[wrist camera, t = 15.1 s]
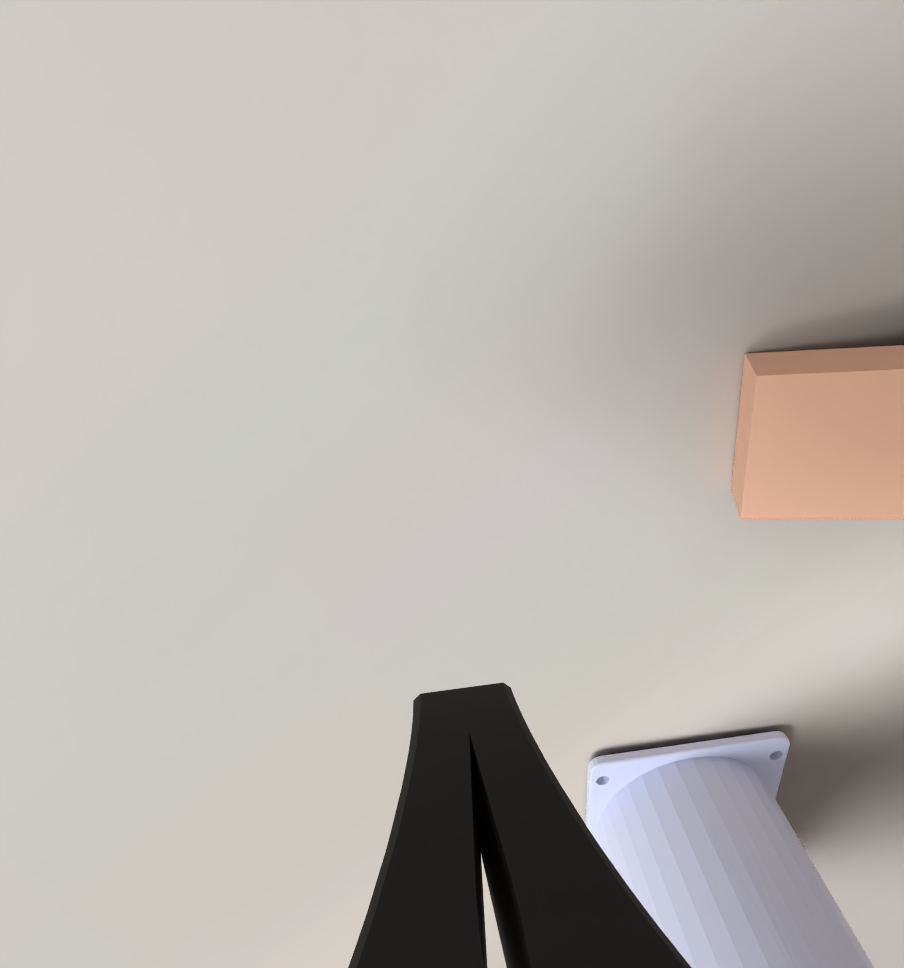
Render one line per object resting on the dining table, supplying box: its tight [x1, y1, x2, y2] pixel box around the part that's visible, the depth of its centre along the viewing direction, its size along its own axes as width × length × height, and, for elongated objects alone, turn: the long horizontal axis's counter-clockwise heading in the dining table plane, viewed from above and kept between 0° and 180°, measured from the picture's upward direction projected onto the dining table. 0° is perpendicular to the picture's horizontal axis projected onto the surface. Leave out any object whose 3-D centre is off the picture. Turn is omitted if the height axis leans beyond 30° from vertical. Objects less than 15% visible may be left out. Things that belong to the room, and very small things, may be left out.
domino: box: [731, 345, 904, 519], centre depth 18 cm, size 2×4×6 cm
